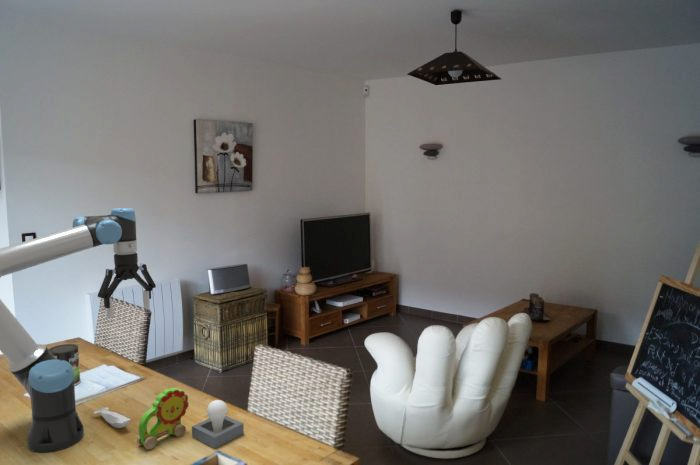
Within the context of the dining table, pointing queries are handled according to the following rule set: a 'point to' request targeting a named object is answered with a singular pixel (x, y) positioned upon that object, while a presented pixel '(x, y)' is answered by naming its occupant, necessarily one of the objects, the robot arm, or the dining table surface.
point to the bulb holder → (228, 433)
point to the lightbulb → (217, 414)
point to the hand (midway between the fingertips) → (129, 312)
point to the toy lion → (164, 417)
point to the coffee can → (68, 357)
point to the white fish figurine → (113, 418)
